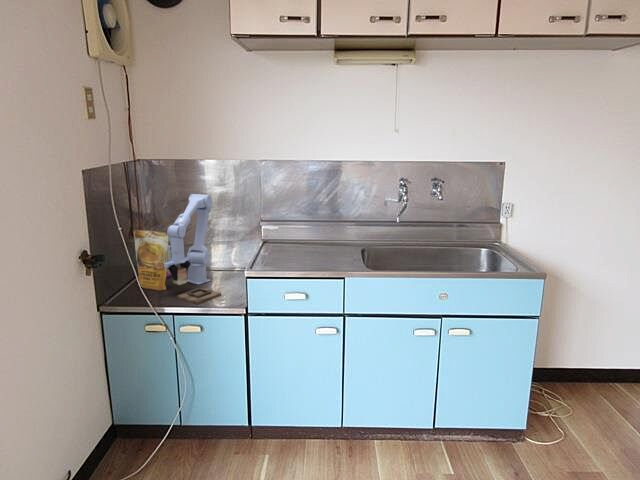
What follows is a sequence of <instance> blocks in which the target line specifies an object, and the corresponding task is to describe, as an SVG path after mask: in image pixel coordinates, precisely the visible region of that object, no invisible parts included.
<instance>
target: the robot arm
mask: <svg viewBox="0 0 640 480" xmlns="http://www.w3.org/2000/svg"><path fill="white" fill-rule="evenodd" d="M212 205H213V199H212V197H211V195H210V194H199V193H196V194H195V193H191V194H190V195H189V197H188V204H187V206H186V208H185V210H184V212H183V213H180V214H179V215H178V217H177V218H176V219H175V221H174V223H173V224H172V225H169V226H168V228H167V231H166V233H167V235H168V237H169V243H170V246H171V256H172V260H170V261H168V262H166V263H164V267H165V268H168V269H169V271H170V272H171V274H172V276H171V277H172V281H173V280H175V281H177V271H178V267H183V268H186V273H187V283H188V282H189V283H192V284H195V285H203V284H205V283H207V282H210V281H211V279H210V278H209V279H208V277H207V264H208V263H209V261H210V250H209V248H208V247H207V246H206V245H205V244H206V237H207V232H208V231H207V230H208V225H209V224H208V222H209V218H210V217H209V216H210V213H211V212H212ZM196 212H197V219H196V220H197V221H196V229H195V235H194V236H195V237H194V242H193V244H192V246H190V247H189V248H188V252H187V253H186V256H185V246H184V237H185V236H186V231H187V227H188V226H189V224H190V223H191V219H192V218H191V217H192V216H193V214H194V213H196ZM177 265H180V266H177Z"/></svg>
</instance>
